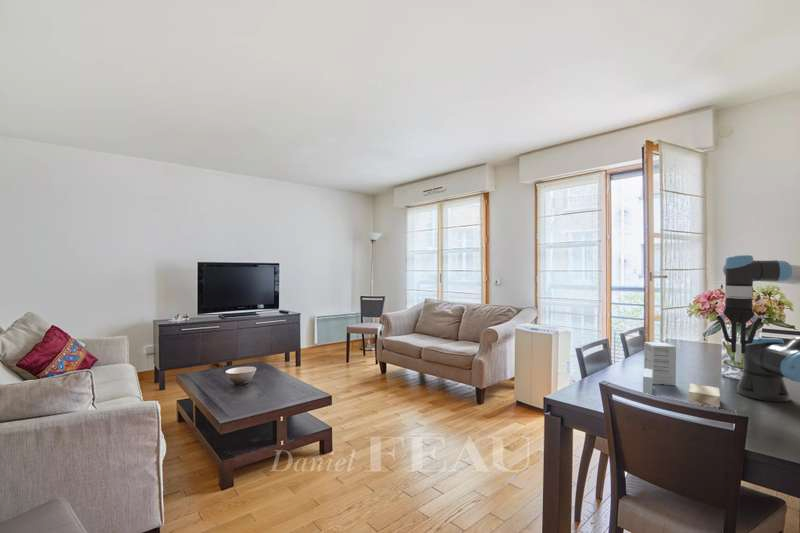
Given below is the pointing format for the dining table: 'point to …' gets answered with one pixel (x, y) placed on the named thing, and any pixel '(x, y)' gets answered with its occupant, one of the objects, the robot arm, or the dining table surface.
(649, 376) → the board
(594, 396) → the dining table surface
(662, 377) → the supplement box
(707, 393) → the maple block
